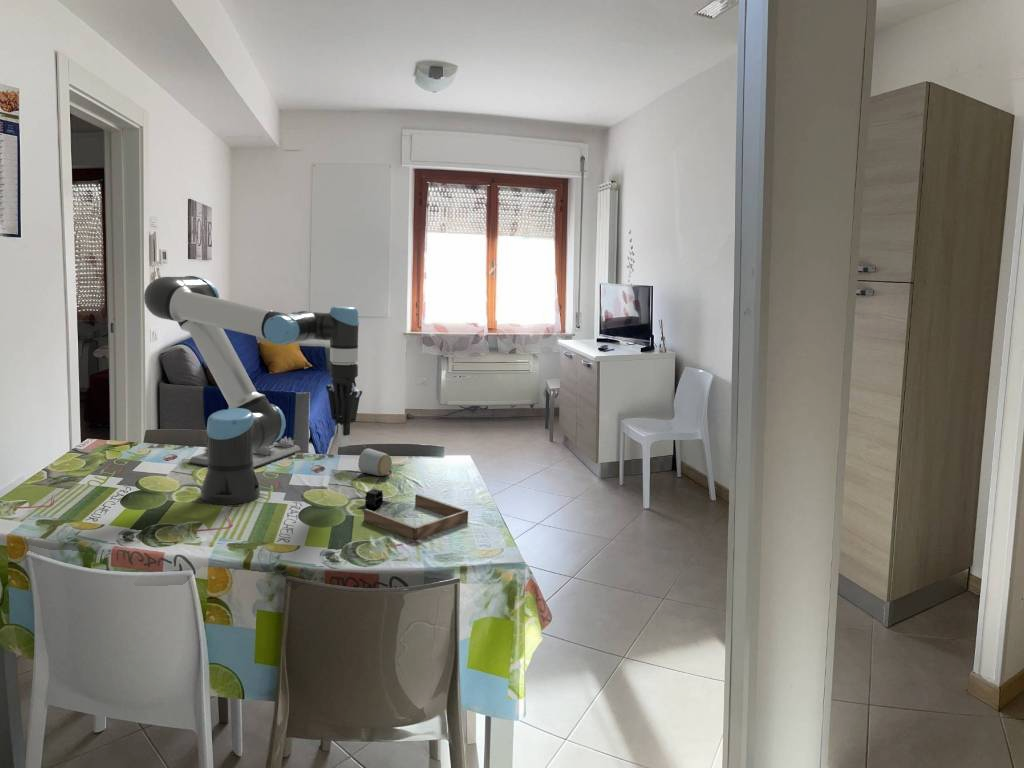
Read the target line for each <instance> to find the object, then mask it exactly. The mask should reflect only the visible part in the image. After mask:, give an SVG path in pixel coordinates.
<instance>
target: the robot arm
mask: <svg viewBox="0 0 1024 768" xmlns="http://www.w3.org/2000/svg"><path fill="white" fill-rule="evenodd" d="M219 294H220V293H219V291H218V290H217V287H216V286H215V285H214V284H213V283H212V282H211V281H210V280H208V279H206V278H204V277H200V276H195V275H186V276H161V277H158V278H156V279H154V280H152V281H151V282H150V283H149V284H148V285H147V286H146V288H145V290H144V295H143V300H144V304H145V307H146V308H147V310H148V311H149V312H150V314H152V315H153V316H154V317H156V318H158V319H159V318H160V319H163V320H169V321H174V322H177V323H178V325H179V327H180V329H181V330H182V331H185V332H188V333H189V334H190V336H191V338H192V340H193V342H194V343H195V345H196V348H197V349H198V351H199V353H200V354H201V356H202V358H203V360H204V362H205V364H206V366H207V368H208V369H209V371H210V373H211V375H212V376H213V379H214V380H215V382H216V385H217V386H218V388H219V390H220V392H221V394H222V396H223V398H224V399H225V400H226V403H227V405H228V408H227V409H226V408H225V409H220V410H217V411H215V412H213V413H212V414H210V415H209V416H208V419H207V423H206V424H207V425H206V432H205V433H206V442H207V443H206V445H207V446H206V447H207V462H208V466H207V470H206V474H205V477H204V478H203V482H202V484H201V489H200V499H201V500H202V501H203V502H206V503H210V504H212V505H213V504H215V505H235V504H236V505H237V504H242V503H243V504H244V503H247V502H251V501H254V500H256V499H258V497H260V495H261V489H260V488H261V487H260V483H259V481H258V478H257V475H256V472H255V468H253V451H256V450H258V449H261V448H263V447H267V446H269V445H271V444H273V443H274V442H278V441H280V440H281V439H280V438H282V437H283V435H284V433H285V429H286V425H287V424H286V418H285V414H284V413H283V410H282V409H280V407H279V406H277V405H275V404H272V403H270V402H269V400H268V398H267V397H266V395H265V394H264V393H260V392H258V391H257V389H256V387H255V386H254V384H253V382H252V380H251V378H250V377H249V375H248V373H247V371H246V368H245V367H244V365H243V363H242V361H241V359H240V358H239V356H238V354H237V352H236V350H235V349H234V346H233V345H232V342H231V340H230V339H229V337H228V335H227V334H226V332H225V330H228V331H233V332H237V333H241V334H246V335H250V336H252V337H258V338H263V339H267V340H268V341H269V342H270V343H272V344H274V345H279V346H280V345H282V346H283V345H284V346H285V345H290V344H294V343H298V342H304V341H305V342H306V341H310V340H317V341H319V340H321V341H329V343H330V345H329V361H330V362H331V363H330V364H329V365H330V366H329V376H330V377H331V378H332V380H331V383H330V384H327V385H326V386H325V389H326V390H327V391H326V392H327V395H328V401H329V402H328V403H329V409H330V415H331V419H332V420H335V422H336V427H337V428H336V433H337V447H339V448H345V447H348V446H350V435H351V424H353V423H355V422H356V421H357V414H358V410H359V402H360V398H361V396H362V394H363V391H362V389H358V388H357V384H356V378H357V377H358V376H359V374H358V373H359V372H358V371H359V365H358V363H357V362H359V326H360V325H359V324H360V323H359V312H358V309H357V308H356V307H354V306H341V305H340V306H334V305H333V306H331V307H330V311H329V312H326V313H325V312H315V311H314V312H312V311H306V310H300V311H297V310H296V311H292V312H291V313H283V312H279V311H275V310H270V309H266V308H261V307H257V306H254V305H249V304H245V303H240V302H236V301H231V300H227V299H224V298H220V295H219Z"/></svg>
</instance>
